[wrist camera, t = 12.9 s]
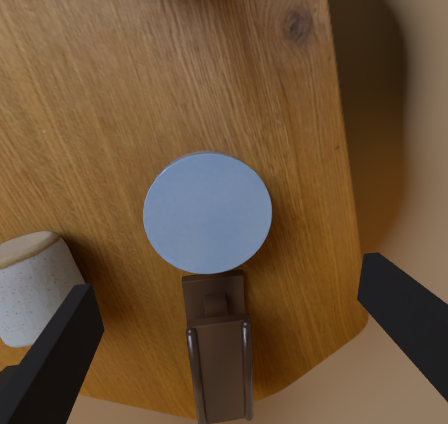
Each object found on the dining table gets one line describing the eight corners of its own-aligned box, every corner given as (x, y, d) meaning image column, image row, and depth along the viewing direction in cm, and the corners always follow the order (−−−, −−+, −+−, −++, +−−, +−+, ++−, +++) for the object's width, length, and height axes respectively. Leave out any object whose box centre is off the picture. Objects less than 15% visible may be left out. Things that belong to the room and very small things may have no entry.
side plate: (266, 146, 23) (273, 149, 21) (265, 256, 27) (271, 267, 25) (137, 155, 22) (132, 158, 20) (156, 268, 26) (153, 280, 24)
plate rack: (241, 269, 31) (256, 314, 24) (245, 367, 37) (257, 427, 30) (182, 276, 31) (179, 324, 24) (194, 375, 36) (195, 437, 29)
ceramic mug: (71, 219, 27) (26, 258, 19) (102, 284, 30) (73, 339, 22) (-33, 244, 26) (-117, 293, 19) (9, 307, 29) (-51, 370, 22)
